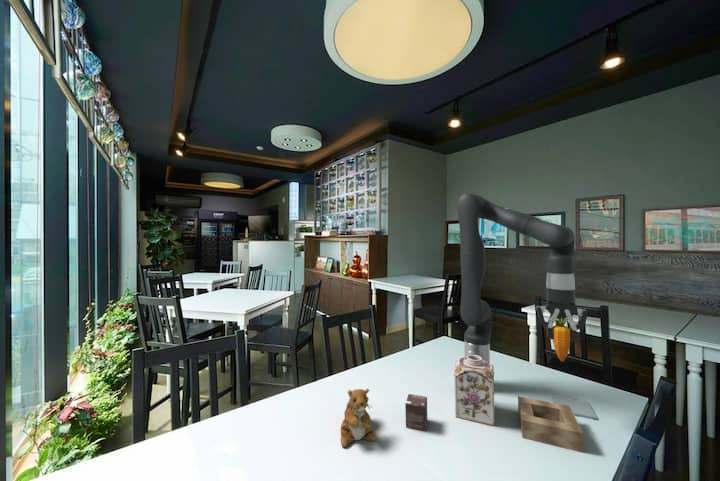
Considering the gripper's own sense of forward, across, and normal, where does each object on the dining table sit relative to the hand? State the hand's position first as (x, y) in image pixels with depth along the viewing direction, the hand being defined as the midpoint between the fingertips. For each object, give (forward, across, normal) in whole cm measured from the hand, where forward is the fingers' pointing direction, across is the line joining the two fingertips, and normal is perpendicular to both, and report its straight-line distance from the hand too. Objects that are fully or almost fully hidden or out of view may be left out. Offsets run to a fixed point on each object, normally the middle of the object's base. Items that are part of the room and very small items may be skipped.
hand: (561, 339), depth 91 cm
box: (+25, -41, -24) cm, 54 cm away
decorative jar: (+25, -26, -9) cm, 37 cm away
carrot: (+7, 0, 0) cm, 7 cm away
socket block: (+24, -6, -10) cm, 27 cm away
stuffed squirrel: (+25, -56, -35) cm, 71 cm away
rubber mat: (+24, +4, +7) cm, 26 cm away
